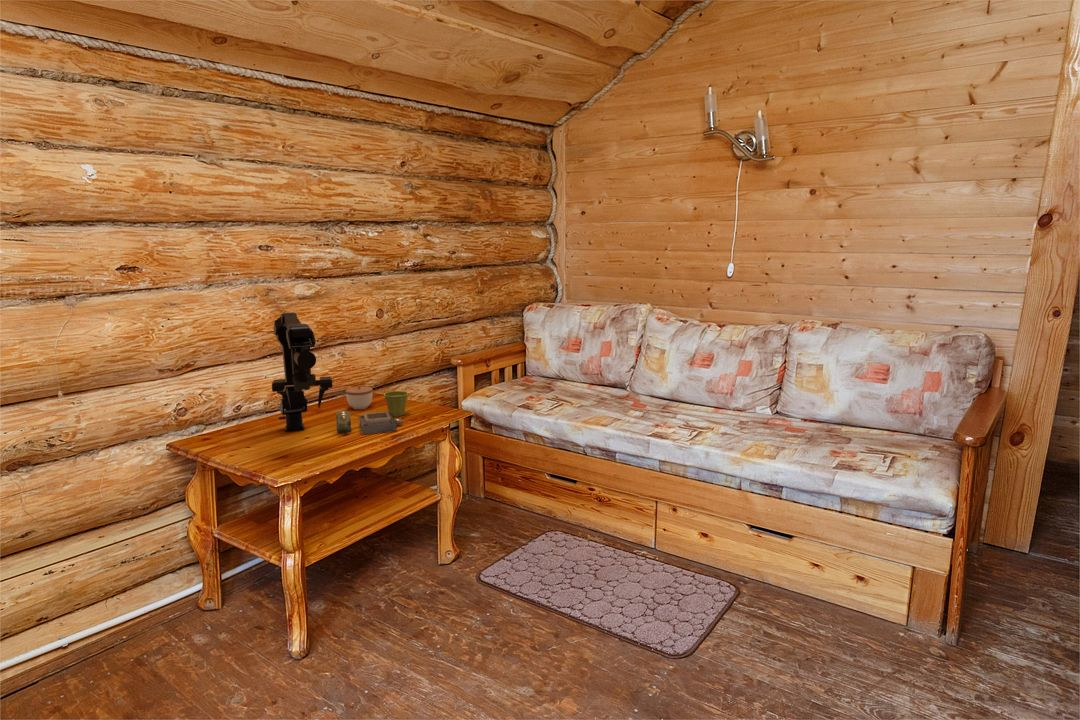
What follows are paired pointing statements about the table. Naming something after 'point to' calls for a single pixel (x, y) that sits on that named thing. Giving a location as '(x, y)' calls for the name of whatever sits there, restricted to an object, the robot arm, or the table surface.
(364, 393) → the lidded jar
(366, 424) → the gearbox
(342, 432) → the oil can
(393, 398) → the plant pot
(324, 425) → the table surface
